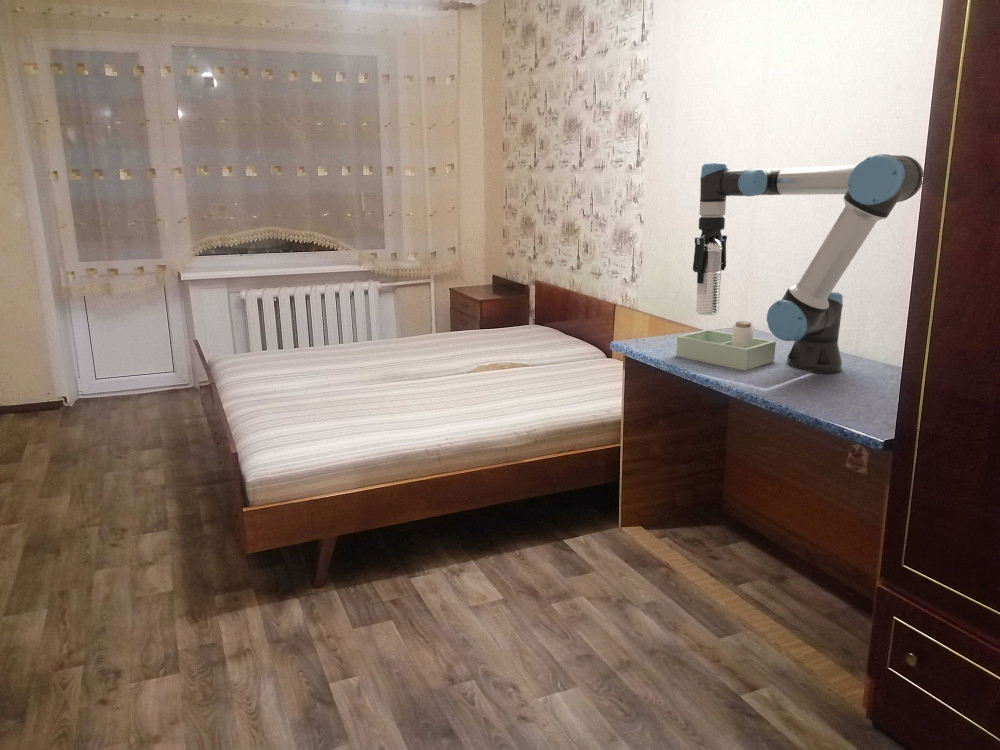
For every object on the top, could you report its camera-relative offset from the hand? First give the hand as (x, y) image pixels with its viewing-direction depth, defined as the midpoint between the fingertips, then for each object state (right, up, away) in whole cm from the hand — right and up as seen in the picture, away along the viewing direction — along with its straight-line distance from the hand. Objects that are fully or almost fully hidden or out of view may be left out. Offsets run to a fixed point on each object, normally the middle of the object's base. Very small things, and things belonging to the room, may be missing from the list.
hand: (708, 292), depth 231 cm
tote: (+5, -21, 0) cm, 22 cm away
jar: (+8, -21, -4) cm, 23 cm away
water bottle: (0, -7, +2) cm, 7 cm away
